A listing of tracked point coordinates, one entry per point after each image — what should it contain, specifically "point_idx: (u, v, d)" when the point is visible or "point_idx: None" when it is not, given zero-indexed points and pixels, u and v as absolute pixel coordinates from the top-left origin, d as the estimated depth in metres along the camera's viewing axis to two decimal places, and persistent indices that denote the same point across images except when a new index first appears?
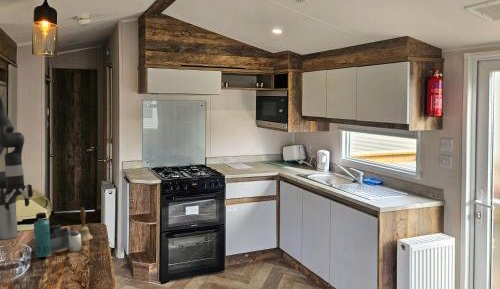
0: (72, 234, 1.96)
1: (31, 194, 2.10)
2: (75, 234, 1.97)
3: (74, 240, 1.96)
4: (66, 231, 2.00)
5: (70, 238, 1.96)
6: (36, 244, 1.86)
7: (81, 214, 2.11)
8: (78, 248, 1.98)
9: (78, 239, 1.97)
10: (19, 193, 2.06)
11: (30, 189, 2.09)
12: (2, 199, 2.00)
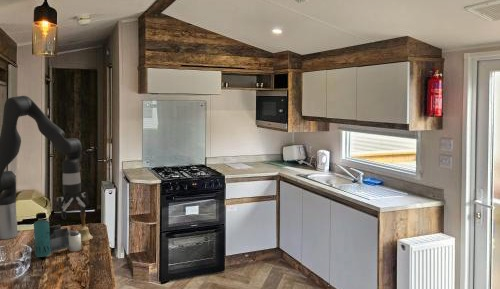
0: (72, 234, 1.96)
1: (87, 202, 2.01)
2: (75, 234, 1.97)
3: (74, 240, 1.96)
4: (66, 231, 2.00)
5: (70, 238, 1.96)
6: (36, 244, 1.86)
7: None
8: (78, 248, 1.98)
9: (78, 239, 1.97)
10: (76, 202, 1.97)
11: (86, 197, 2.00)
12: (60, 208, 1.91)
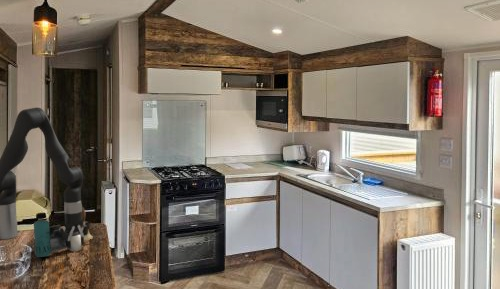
0: (72, 234, 1.96)
1: (86, 232, 2.01)
2: (75, 234, 1.97)
3: (74, 240, 1.96)
4: (66, 231, 2.00)
5: (70, 238, 1.96)
6: (36, 244, 1.86)
7: None
8: (78, 248, 1.98)
9: (78, 239, 1.97)
10: (76, 230, 1.98)
11: (87, 227, 2.01)
12: (64, 238, 1.94)
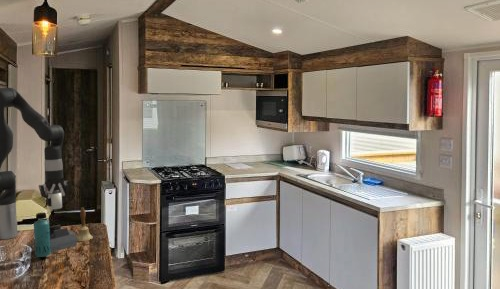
0: (53, 192, 1.97)
1: (67, 191, 2.02)
2: (56, 192, 1.97)
3: (55, 198, 1.96)
4: (66, 231, 2.00)
5: None
6: (36, 244, 1.86)
7: (81, 214, 2.11)
8: (59, 206, 1.98)
9: (59, 197, 1.98)
10: (57, 188, 1.98)
11: (68, 186, 2.02)
12: (45, 195, 1.94)
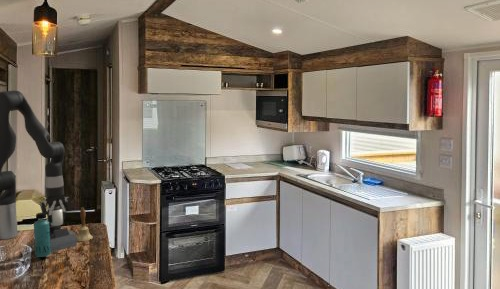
0: None
1: (68, 207, 2.02)
2: (56, 208, 1.98)
3: (55, 214, 1.97)
4: (66, 231, 2.00)
5: None
6: (36, 244, 1.86)
7: (81, 214, 2.11)
8: (60, 222, 1.99)
9: (60, 213, 1.98)
10: (58, 204, 1.99)
11: (68, 202, 2.03)
12: (46, 212, 1.95)
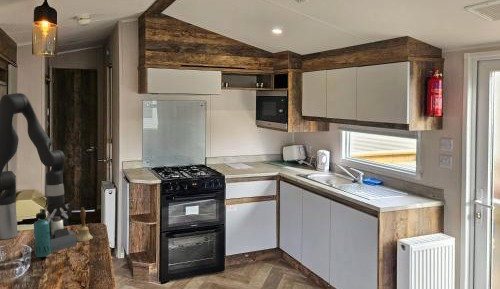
0: (54, 219, 1.98)
1: (70, 214, 2.04)
2: (57, 220, 1.99)
3: (56, 225, 1.98)
4: (66, 231, 2.00)
5: (52, 224, 1.98)
6: (36, 244, 1.86)
7: (81, 214, 2.11)
8: None
9: (60, 224, 1.99)
10: (59, 213, 2.00)
11: (70, 209, 2.03)
12: None
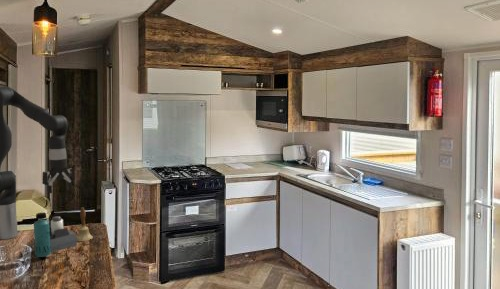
0: (54, 220, 1.98)
1: (73, 178, 2.08)
2: (57, 220, 1.99)
3: (56, 225, 1.98)
4: (66, 231, 2.00)
5: (52, 224, 1.98)
6: (36, 244, 1.86)
7: (81, 214, 2.11)
8: None
9: (60, 224, 1.99)
10: (62, 177, 2.04)
11: (72, 173, 2.07)
12: (45, 182, 1.98)
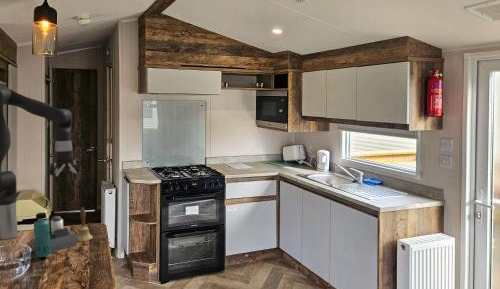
0: (54, 220, 1.98)
1: (78, 169, 2.16)
2: (57, 220, 1.99)
3: (56, 225, 1.98)
4: (66, 231, 2.00)
5: (52, 224, 1.98)
6: (36, 244, 1.86)
7: (81, 214, 2.11)
8: None
9: (60, 224, 1.99)
10: (68, 168, 2.12)
11: (78, 164, 2.16)
12: (53, 173, 2.06)
